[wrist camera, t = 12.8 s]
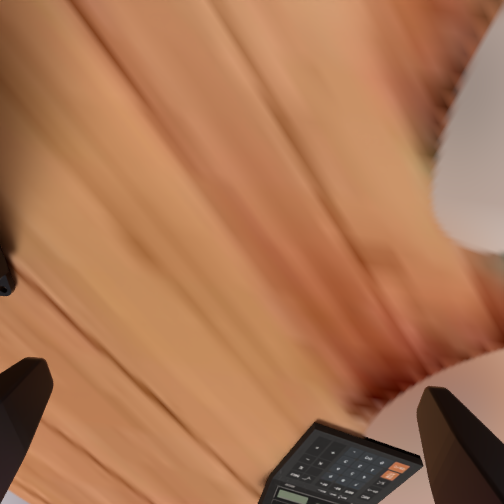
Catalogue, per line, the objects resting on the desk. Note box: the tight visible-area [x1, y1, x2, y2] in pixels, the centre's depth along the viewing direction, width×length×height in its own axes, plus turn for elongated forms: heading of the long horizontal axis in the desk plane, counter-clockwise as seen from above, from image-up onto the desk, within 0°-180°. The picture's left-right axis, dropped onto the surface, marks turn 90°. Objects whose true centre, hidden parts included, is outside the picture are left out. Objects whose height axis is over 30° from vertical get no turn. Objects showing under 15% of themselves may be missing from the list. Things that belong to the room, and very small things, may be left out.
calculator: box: [258, 422, 423, 504], centre depth 31 cm, size 9×12×3 cm
